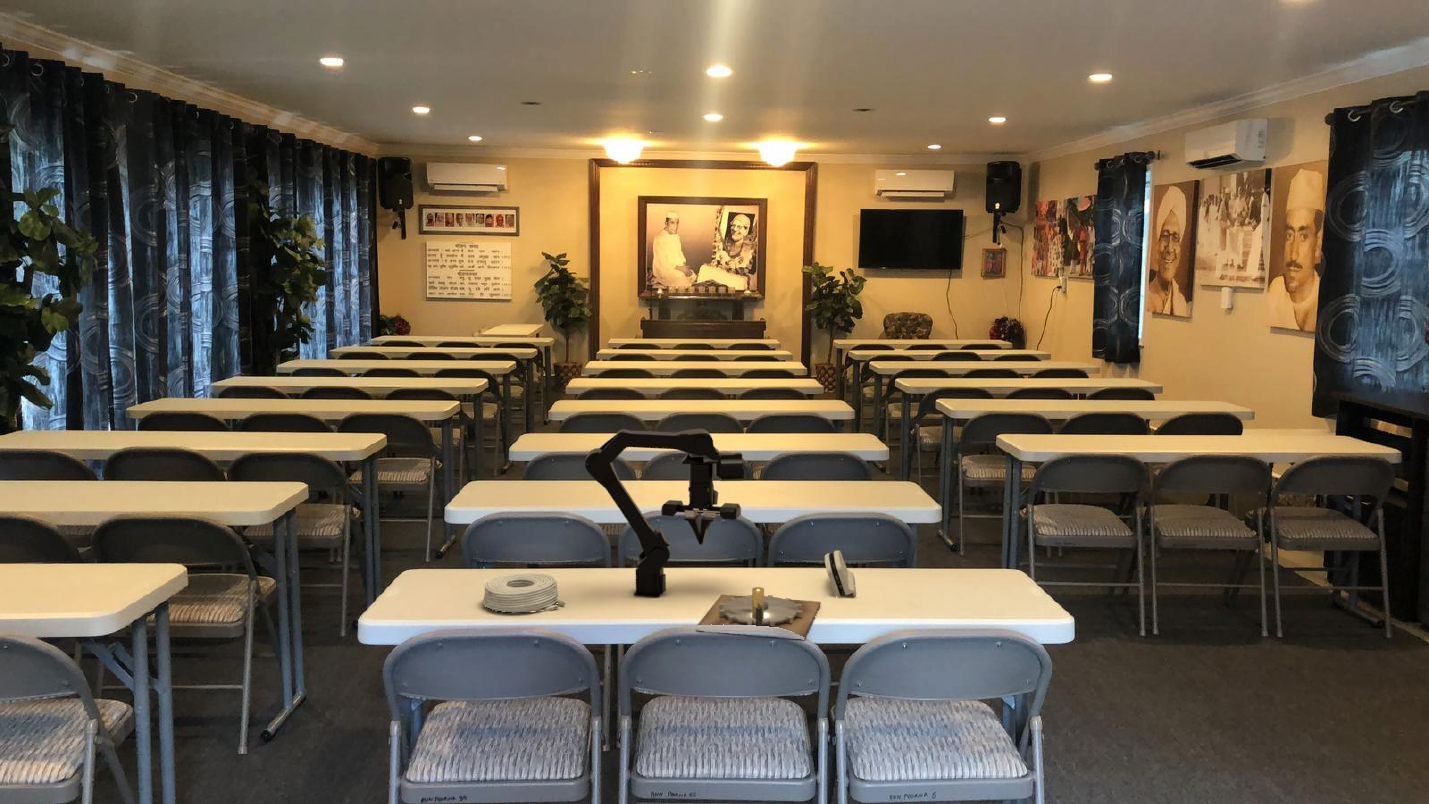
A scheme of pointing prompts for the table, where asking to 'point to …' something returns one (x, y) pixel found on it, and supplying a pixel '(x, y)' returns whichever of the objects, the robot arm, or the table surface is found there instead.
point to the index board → (798, 626)
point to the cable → (522, 593)
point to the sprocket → (771, 609)
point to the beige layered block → (839, 574)
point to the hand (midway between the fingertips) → (701, 544)
